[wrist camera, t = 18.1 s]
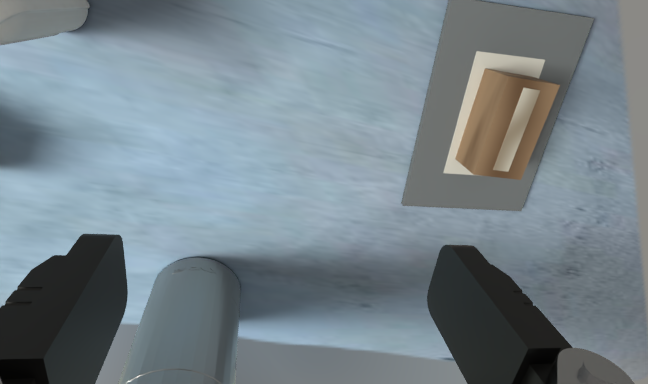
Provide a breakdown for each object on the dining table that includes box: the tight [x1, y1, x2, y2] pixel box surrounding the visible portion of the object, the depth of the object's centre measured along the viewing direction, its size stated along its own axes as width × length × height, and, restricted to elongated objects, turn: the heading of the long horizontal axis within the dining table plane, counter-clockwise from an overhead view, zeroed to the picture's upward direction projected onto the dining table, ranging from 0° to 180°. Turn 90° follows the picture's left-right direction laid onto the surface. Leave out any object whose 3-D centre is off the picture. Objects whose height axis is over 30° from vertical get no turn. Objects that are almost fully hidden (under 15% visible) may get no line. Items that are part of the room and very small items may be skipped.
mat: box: [401, 0, 594, 211], centre depth 40 cm, size 20×14×1 cm
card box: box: [455, 68, 560, 180], centre depth 38 cm, size 5×9×4 cm, turn 170°
